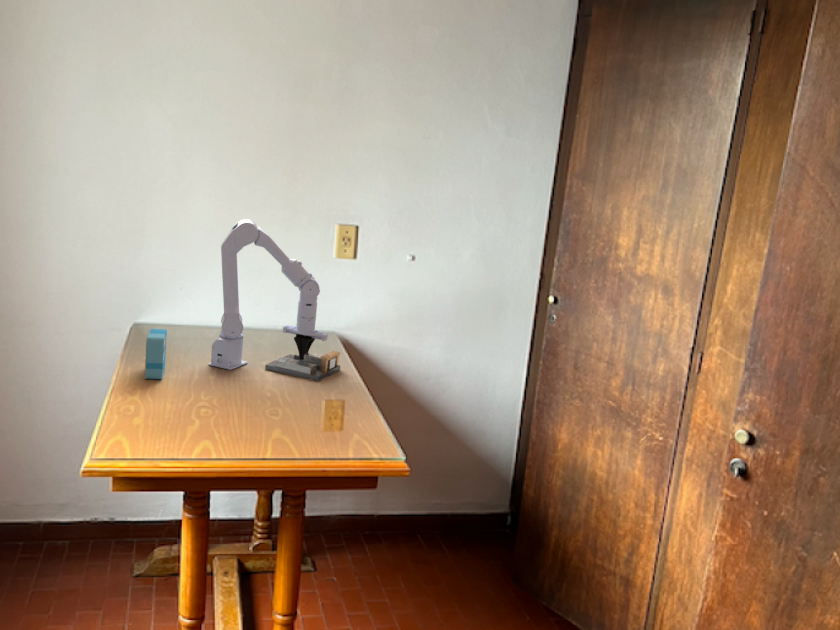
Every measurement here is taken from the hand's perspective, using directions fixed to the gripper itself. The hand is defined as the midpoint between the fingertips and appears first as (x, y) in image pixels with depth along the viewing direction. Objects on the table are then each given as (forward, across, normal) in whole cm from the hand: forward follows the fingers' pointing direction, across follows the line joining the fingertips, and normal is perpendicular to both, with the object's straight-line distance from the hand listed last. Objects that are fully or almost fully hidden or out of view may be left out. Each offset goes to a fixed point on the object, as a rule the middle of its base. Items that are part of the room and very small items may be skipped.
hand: (302, 358), depth 243 cm
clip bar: (+1, -6, 0) cm, 6 cm away
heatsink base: (+3, -2, +2) cm, 4 cm away
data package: (+3, +28, +34) cm, 45 cm away
